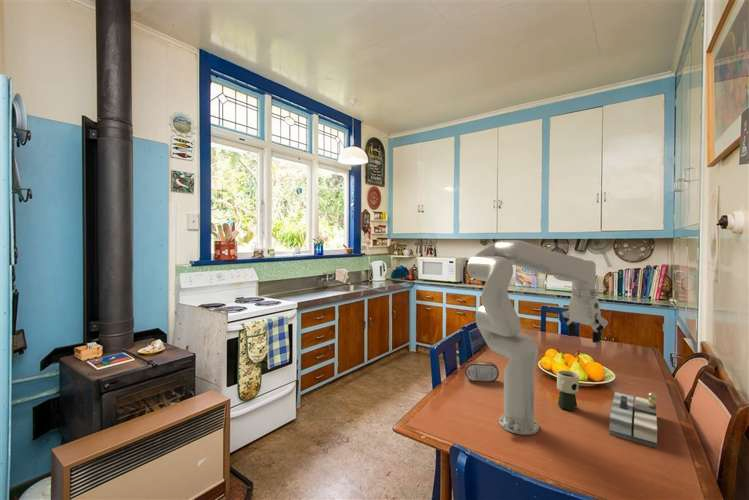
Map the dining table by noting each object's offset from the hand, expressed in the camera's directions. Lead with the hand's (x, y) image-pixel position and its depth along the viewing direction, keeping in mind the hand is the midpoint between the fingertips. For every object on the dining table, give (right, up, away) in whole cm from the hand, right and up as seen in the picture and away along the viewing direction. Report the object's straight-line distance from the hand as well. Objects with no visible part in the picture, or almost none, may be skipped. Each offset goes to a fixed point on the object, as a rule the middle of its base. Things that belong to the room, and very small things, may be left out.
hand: (583, 338), depth 132 cm
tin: (-31, -26, +26) cm, 47 cm away
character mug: (-6, -26, 0) cm, 27 cm away
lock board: (+10, -26, -12) cm, 31 cm away
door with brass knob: (+12, -20, -14) cm, 28 cm away
